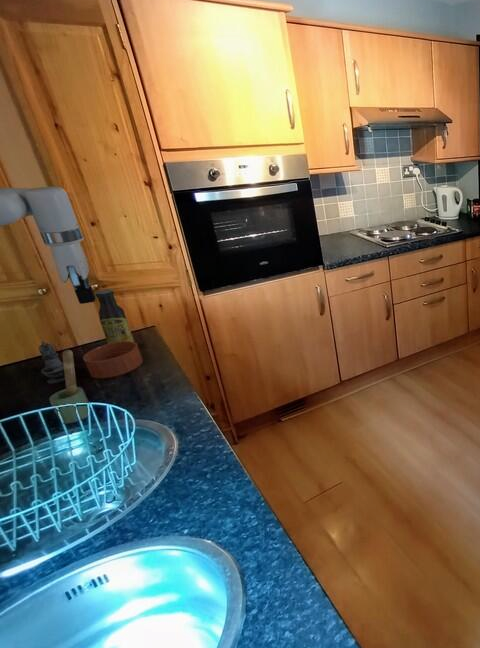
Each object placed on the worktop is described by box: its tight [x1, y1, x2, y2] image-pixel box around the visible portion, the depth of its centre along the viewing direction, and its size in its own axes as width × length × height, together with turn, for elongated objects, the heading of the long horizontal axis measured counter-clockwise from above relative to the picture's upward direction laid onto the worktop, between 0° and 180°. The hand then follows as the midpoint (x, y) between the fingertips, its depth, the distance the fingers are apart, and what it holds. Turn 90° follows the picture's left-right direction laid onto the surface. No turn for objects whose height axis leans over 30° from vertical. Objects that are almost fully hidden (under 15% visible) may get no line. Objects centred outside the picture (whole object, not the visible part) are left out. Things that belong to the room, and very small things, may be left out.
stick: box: [61, 349, 78, 397], centre depth 110 cm, size 2×2×18 cm
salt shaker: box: [38, 341, 66, 385], centre depth 126 cm, size 6×6×12 cm
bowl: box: [82, 341, 144, 379], centre depth 132 cm, size 12×12×6 cm
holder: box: [48, 386, 90, 424], centre depth 111 cm, size 6×6×7 cm
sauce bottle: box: [95, 288, 135, 344], centre depth 140 cm, size 7×6×20 cm
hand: (88, 301), depth 124 cm, fingers closed
